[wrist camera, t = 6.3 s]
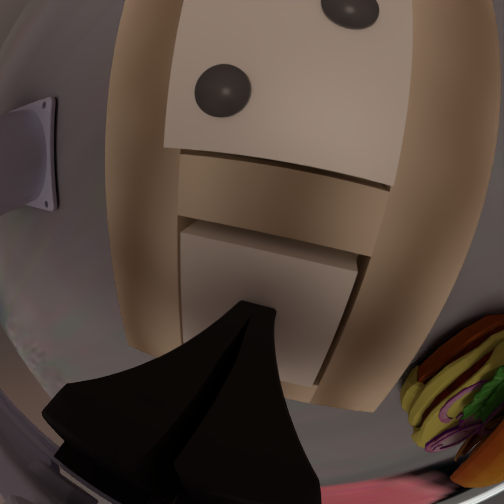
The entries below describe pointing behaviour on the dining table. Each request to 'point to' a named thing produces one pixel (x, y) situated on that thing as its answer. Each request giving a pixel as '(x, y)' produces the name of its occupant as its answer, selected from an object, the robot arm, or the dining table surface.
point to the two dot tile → (294, 82)
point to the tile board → (310, 197)
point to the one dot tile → (267, 289)
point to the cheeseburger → (462, 401)
